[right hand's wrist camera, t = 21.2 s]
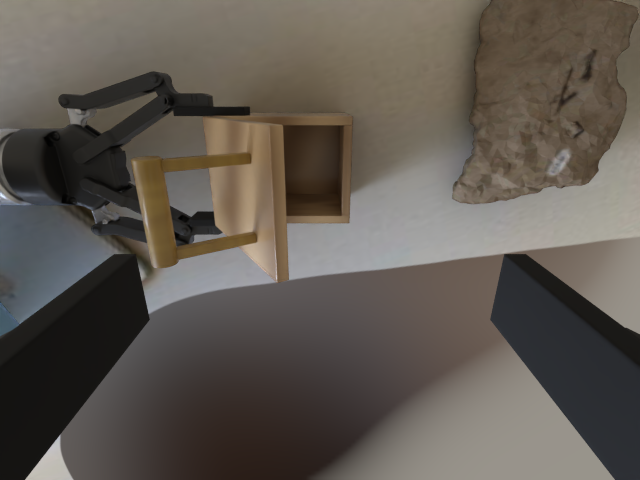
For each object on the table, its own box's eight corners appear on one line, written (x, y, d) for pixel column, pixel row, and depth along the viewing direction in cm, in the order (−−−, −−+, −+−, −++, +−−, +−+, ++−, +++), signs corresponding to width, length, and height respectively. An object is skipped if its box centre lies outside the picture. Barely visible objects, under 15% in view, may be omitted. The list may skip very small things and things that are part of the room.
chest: (345, 112, 40) (352, 116, 31) (343, 198, 44) (349, 223, 35) (234, 112, 40) (209, 116, 31) (241, 198, 44) (221, 223, 35)
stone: (582, 210, 41) (612, 217, 35) (448, 200, 44) (455, 205, 38) (625, 8, 36) (667, -23, 30) (472, 13, 39) (485, -14, 33)
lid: (283, 124, 20) (131, 130, 16) (289, 280, 24) (166, 315, 20) (212, 116, 31) (111, 118, 27) (224, 224, 34) (136, 240, 31)
